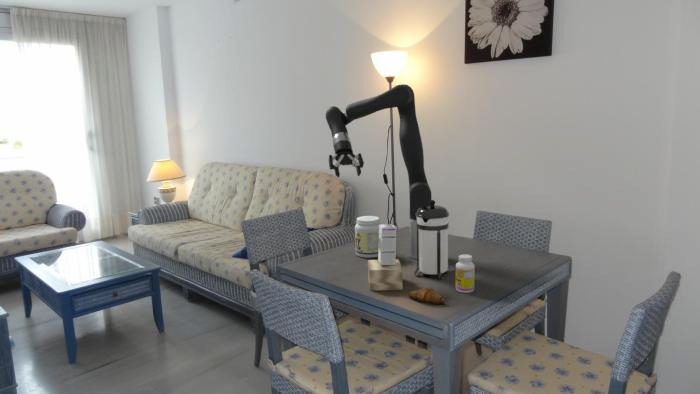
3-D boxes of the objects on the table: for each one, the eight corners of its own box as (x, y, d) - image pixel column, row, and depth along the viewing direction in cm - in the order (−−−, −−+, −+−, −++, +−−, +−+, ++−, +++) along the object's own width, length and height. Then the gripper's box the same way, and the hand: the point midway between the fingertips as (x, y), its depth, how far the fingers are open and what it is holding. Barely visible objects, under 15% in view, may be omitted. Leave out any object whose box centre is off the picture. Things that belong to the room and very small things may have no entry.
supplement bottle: (453, 287, 185) (453, 253, 183) (470, 286, 186) (471, 252, 184) (458, 294, 179) (458, 259, 176) (476, 293, 179) (477, 258, 177)
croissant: (449, 301, 173) (449, 288, 172) (440, 308, 167) (440, 294, 166) (413, 294, 180) (413, 281, 179) (404, 300, 175) (404, 287, 174)
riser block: (398, 278, 197) (398, 259, 195) (402, 289, 185) (402, 269, 184) (368, 279, 197) (367, 260, 195) (369, 291, 185) (369, 270, 184)
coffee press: (459, 278, 195) (460, 202, 189) (419, 281, 192) (419, 204, 187) (444, 264, 211) (444, 194, 206) (407, 267, 209) (406, 196, 203)
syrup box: (395, 265, 188) (397, 227, 186) (380, 265, 187) (381, 227, 185) (392, 261, 193) (393, 223, 191) (377, 261, 192) (378, 223, 190)
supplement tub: (352, 252, 233) (351, 216, 230) (377, 249, 236) (376, 214, 233) (360, 259, 221) (359, 222, 218) (386, 256, 225) (385, 219, 221)
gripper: (326, 140, 211) (332, 170, 202) (359, 138, 214) (367, 168, 205) (325, 151, 217) (330, 182, 208) (357, 150, 220) (364, 179, 211)
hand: (348, 175), depth 207 cm, fingers open, 8 cm apart
